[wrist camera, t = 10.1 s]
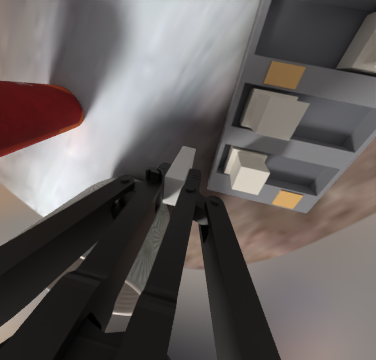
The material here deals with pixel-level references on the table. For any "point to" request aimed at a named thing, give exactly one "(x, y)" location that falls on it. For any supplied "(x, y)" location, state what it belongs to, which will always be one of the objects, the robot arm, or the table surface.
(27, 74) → the table surface
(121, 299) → the concrete flower pot
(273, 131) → the tab
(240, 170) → the tab
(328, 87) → the switch bank
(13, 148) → the paper cup
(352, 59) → the tab
